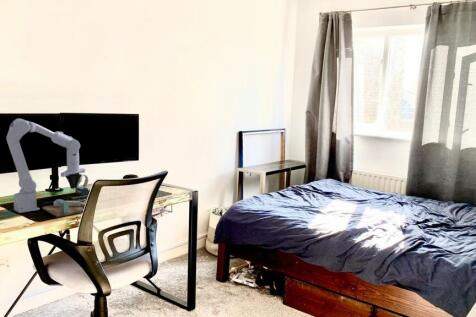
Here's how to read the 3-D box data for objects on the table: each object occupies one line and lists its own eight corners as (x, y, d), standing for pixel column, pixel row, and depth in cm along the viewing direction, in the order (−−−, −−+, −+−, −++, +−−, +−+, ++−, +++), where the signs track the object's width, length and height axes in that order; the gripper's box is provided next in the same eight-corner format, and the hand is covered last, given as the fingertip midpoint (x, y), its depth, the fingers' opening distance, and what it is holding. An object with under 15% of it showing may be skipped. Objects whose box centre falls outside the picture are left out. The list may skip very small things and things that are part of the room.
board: (57, 216, 193) (57, 214, 193) (42, 208, 205) (42, 206, 205) (99, 209, 208) (99, 207, 208) (83, 201, 220) (83, 200, 220)
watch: (72, 194, 235) (72, 175, 233) (84, 191, 242) (84, 173, 240) (79, 195, 232) (78, 176, 230) (90, 193, 239) (90, 174, 237)
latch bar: (88, 204, 212) (88, 198, 212) (87, 206, 208) (87, 200, 208) (55, 204, 209) (55, 198, 208) (53, 206, 205) (53, 200, 205)
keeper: (64, 213, 196) (63, 203, 195) (56, 209, 202) (55, 199, 201) (69, 212, 198) (68, 202, 197) (60, 208, 204) (60, 199, 203)
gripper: (77, 159, 220) (78, 184, 222) (55, 163, 207) (56, 189, 209) (88, 160, 217) (88, 186, 220) (66, 164, 204) (67, 191, 206)
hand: (73, 188), depth 214 cm, fingers closed
